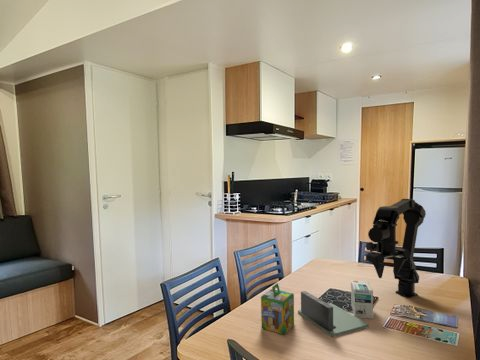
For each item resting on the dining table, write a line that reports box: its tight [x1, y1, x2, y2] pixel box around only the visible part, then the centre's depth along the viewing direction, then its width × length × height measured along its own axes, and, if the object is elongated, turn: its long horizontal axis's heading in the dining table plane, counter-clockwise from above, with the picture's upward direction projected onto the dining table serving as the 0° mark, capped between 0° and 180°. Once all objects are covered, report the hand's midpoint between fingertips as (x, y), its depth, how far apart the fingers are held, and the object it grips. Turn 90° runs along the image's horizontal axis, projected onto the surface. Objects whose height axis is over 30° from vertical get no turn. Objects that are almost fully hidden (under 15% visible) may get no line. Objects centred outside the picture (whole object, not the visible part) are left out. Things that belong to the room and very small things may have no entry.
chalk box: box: [260, 282, 295, 336], centre depth 114 cm, size 9×9×15 cm
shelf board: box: [297, 302, 370, 338], centre depth 119 cm, size 16×20×1 cm
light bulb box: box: [350, 279, 374, 319], centre depth 124 cm, size 11×7×11 cm, turn 168°
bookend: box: [300, 290, 336, 332], centre depth 116 cm, size 4×16×8 cm, turn 24°
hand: (388, 276), depth 130 cm, fingers open, 9 cm apart
